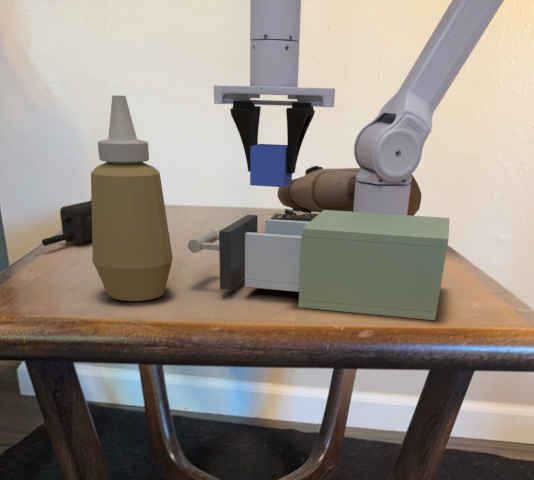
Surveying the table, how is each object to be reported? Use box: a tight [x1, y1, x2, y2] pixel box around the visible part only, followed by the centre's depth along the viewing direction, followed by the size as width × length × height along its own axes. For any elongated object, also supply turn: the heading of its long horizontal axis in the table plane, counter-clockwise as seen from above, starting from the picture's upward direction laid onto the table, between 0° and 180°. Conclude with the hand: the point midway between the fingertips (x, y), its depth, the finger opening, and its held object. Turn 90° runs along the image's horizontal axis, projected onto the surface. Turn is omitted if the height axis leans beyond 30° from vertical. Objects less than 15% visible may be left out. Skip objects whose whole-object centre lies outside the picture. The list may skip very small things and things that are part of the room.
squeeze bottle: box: [90, 95, 174, 302], centre depth 61 cm, size 8×8×18 cm
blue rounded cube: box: [249, 143, 293, 188], centre depth 79 cm, size 4×4×4 cm
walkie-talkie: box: [41, 200, 92, 247], centre depth 86 cm, size 5×3×15 cm
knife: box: [284, 208, 298, 215], centre depth 104 cm, size 15×1×2 cm
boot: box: [277, 165, 422, 216], centre depth 106 cm, size 8×24×17 cm
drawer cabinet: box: [298, 210, 450, 321], centre depth 65 cm, size 14×12×8 cm
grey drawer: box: [187, 214, 309, 293], centre depth 67 cm, size 17×10×6 cm, turn 76°
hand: (271, 172), depth 79 cm, fingers closed on blue rounded cube, 4 cm apart
